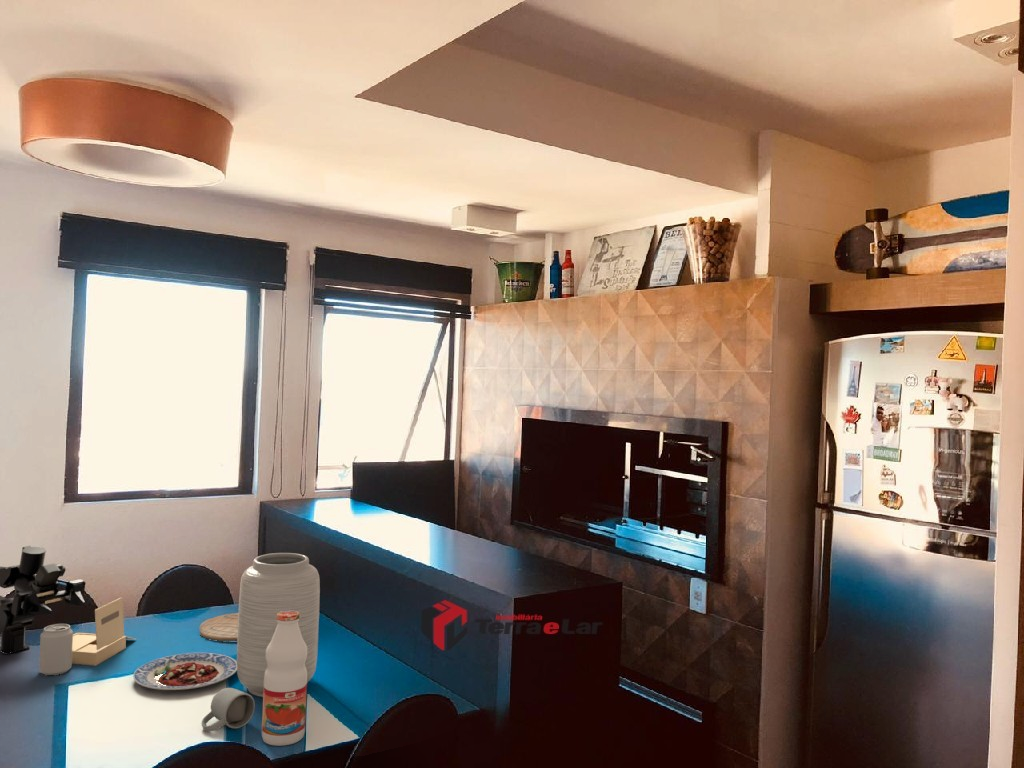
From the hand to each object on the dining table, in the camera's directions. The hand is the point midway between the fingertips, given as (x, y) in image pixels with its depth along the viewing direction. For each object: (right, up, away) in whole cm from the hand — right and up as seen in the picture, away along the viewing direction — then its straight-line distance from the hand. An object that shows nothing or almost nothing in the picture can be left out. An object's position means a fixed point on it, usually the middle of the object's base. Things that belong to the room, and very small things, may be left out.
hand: (68, 608), depth 209 cm
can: (-2, -16, -3) cm, 16 cm away
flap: (+7, -12, +9) cm, 17 cm away
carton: (0, -16, +13) cm, 20 cm away
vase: (+59, -19, -7) cm, 62 cm away
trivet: (+34, -18, +36) cm, 53 cm away
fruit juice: (+69, -19, -35) cm, 79 cm away
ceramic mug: (+54, -19, -30) cm, 64 cm away
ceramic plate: (+33, -18, -3) cm, 38 cm away
